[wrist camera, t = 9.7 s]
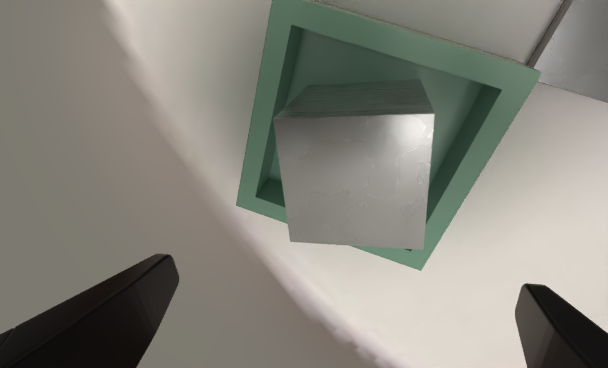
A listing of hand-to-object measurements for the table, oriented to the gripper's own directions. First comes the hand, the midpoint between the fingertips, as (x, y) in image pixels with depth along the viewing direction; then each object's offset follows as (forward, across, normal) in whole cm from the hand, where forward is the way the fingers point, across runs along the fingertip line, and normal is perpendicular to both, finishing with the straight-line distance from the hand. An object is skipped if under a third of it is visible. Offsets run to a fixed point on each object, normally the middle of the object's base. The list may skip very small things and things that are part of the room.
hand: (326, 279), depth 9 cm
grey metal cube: (+11, 0, 0) cm, 11 cm away
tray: (+12, 0, 0) cm, 12 cm away
